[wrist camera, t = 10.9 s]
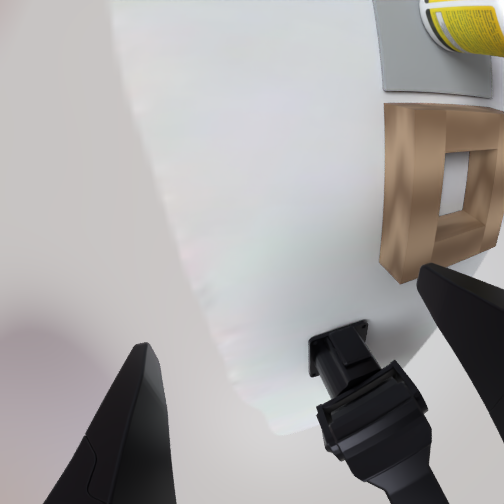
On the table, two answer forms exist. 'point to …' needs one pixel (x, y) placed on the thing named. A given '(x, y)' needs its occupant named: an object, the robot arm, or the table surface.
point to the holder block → (439, 185)
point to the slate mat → (424, 56)
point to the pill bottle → (465, 25)
